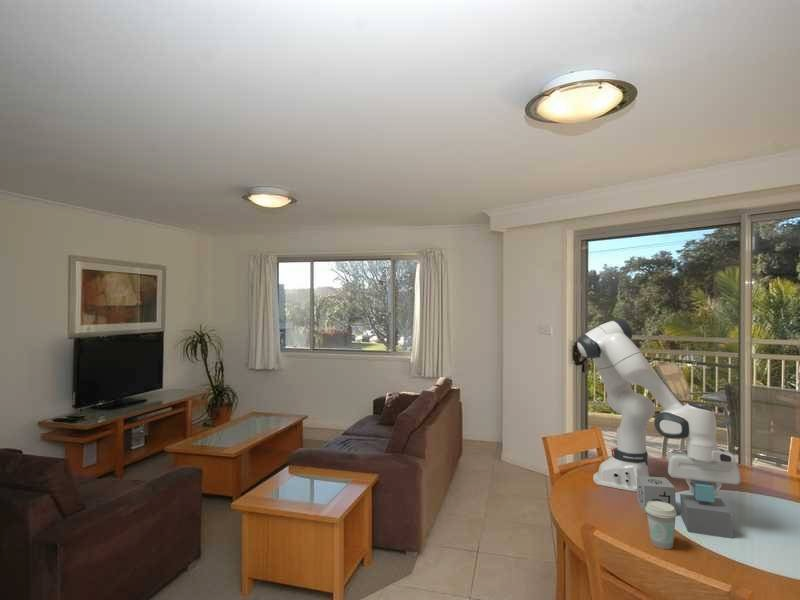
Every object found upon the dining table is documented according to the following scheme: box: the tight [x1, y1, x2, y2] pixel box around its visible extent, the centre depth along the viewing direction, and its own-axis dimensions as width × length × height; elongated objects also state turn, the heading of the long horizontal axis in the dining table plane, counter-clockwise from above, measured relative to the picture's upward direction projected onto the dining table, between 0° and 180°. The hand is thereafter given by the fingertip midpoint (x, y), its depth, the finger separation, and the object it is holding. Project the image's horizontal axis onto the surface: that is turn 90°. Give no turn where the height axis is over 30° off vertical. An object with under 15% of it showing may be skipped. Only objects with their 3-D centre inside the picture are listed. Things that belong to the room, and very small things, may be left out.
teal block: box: [692, 480, 715, 502], centre depth 150 cm, size 5×5×5 cm
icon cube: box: [636, 476, 677, 515], centre depth 164 cm, size 10×10×10 cm
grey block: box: [679, 493, 733, 539], centre depth 150 cm, size 12×12×8 cm
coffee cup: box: [645, 501, 678, 550], centre depth 139 cm, size 8×9×12 cm
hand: (703, 493), depth 150 cm, fingers closed on teal block, 5 cm apart
